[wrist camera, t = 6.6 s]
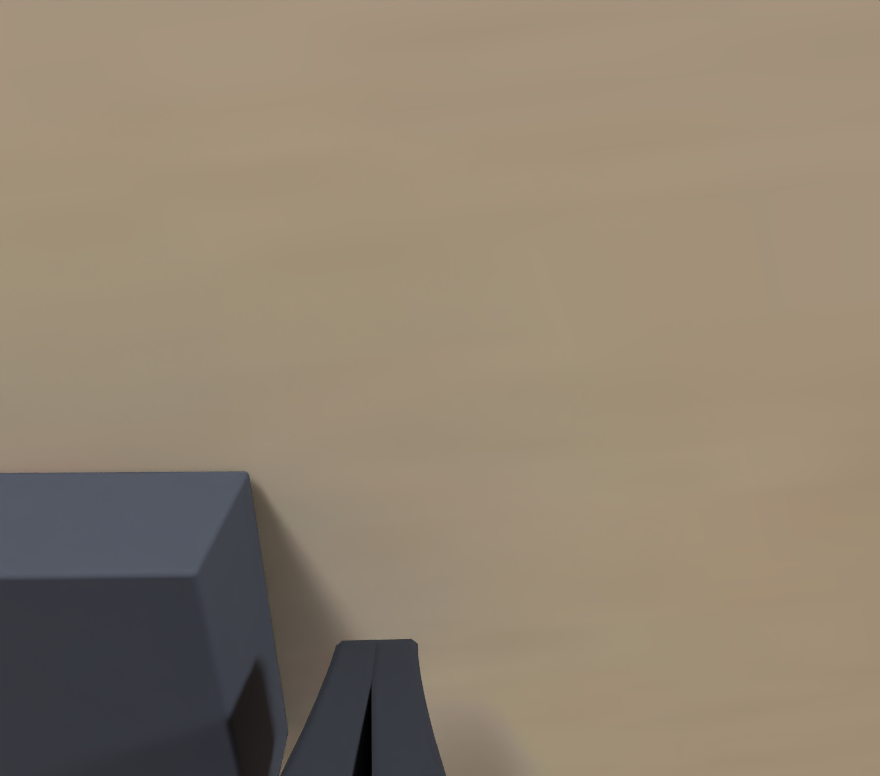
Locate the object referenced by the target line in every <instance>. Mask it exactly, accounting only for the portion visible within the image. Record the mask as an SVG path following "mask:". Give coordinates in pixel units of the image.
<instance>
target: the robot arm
mask: <svg viewBox="0 0 880 776" xmlns="http://www.w3.org/2000/svg"><path fill="white" fill-rule="evenodd" d="M280 776H446V774H445V771H444V767H443V764H442V761H441V757H440V754H439V750H438V747H437V744H436V740H435V737H434V733H433V729H432V726H431V722H430V718H429V714H428V709H427V705H426V700H425V696H424V691H423V686H422V681H421V674H420V667H419V659H418V644H417V643H416V642H415V641H413V640H412V639H395V640H356V641H341V642H340V643H339V644H338V645H336V648H335V651H334V654H333V657H332V660H331V663H330V666H329V668H328V671H327V674H326V677H325V679H324V682H323V684H322V687H321V689H320V692H319V694H318V696H317V699H316V701H315V703H314V706H313V708H312V710H311V712H310V715H309V717H308V719H307V722H306V724H305V726H304V728H303V730H302V732H301V734H300V736H299V738H298V740H297V742H296V745H295V747H294V749H293V751H292V753H291V755H290V757H289V759H288V761H287V763H286V765H285V767H284V769H283V771H282V773H281V775H280Z"/></svg>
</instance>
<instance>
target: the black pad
mask: <svg viewBox="0 0 880 776" xmlns="http://www.w3.org/2000/svg"><path fill="white" fill-rule="evenodd" d="M287 736H288V728H287V722H286V715H285V709H284V702H283V695H282V689H281V682H280V676H279V669H278V663H277V656H276V649H275V643H274V636H273V630H272V623H271V617H270V610H269V603H268V597H267V590H266V584H265V577H264V570H263V564H262V557H261V551H260V544H259V538H258V531H257V524H256V518H255V511H254V505H253V498H252V492H251V485H250V478H249V474H248V473H247V472H117V473H0V776H279V772H280V768H281V763H282V759H283V754H284V749H285V745H286V740H287Z"/></svg>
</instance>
